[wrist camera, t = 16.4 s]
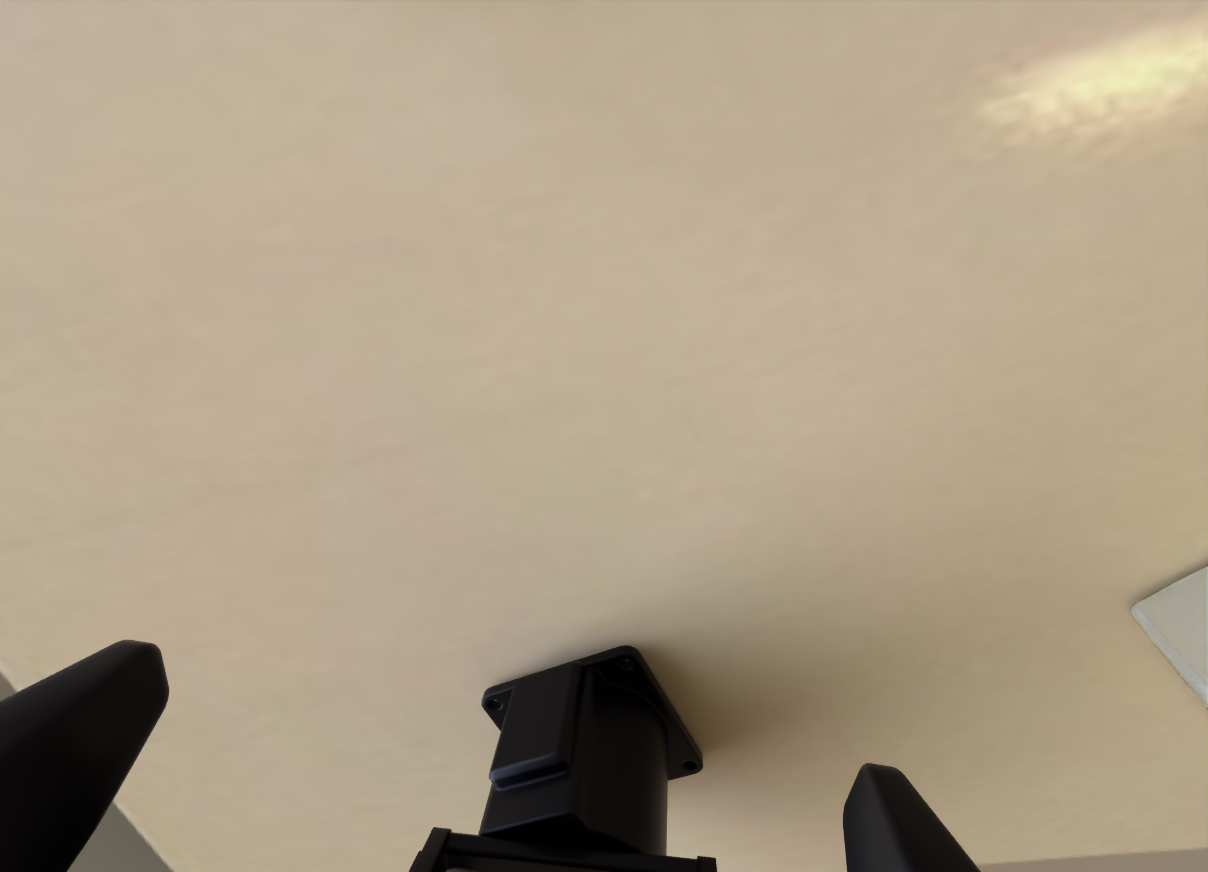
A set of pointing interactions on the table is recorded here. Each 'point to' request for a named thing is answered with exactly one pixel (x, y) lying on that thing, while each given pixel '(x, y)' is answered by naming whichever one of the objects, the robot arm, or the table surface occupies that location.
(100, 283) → the table surface
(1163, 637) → the toy refrigerator
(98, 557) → the table surface
